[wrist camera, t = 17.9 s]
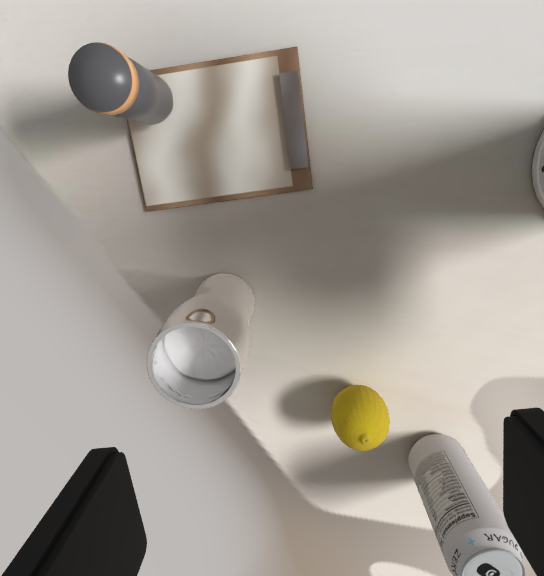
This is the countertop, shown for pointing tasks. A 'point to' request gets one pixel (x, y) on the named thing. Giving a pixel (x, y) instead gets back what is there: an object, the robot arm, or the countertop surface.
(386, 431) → the lemon
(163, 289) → the countertop surface
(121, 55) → the grey rounded cylinder
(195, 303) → the beer glass
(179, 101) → the clipboard
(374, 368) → the countertop surface
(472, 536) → the energy drink can
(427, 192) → the countertop surface
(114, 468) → the robot arm
